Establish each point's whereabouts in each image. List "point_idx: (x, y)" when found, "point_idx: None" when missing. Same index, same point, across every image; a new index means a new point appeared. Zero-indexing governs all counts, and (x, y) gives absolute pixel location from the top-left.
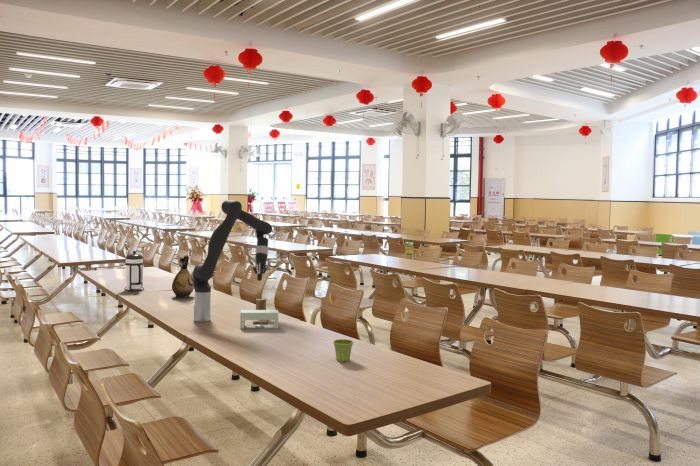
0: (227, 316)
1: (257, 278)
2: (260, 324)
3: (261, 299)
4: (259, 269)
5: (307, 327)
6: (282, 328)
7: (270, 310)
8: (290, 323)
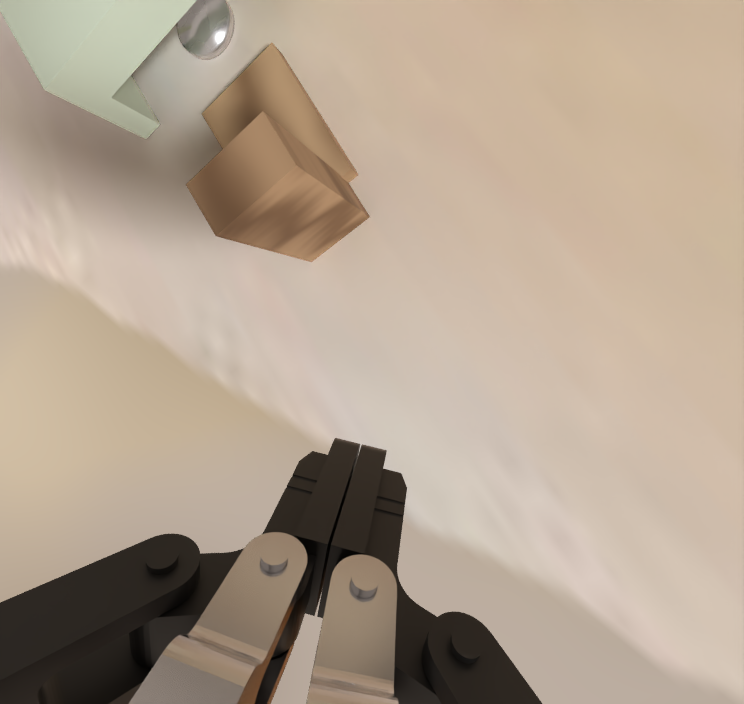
0: (631, 117)
1: (376, 467)
2: (207, 42)
3: (236, 176)
4: (187, 665)
5: (22, 210)
6: None
7: (73, 29)
8: (124, 235)
